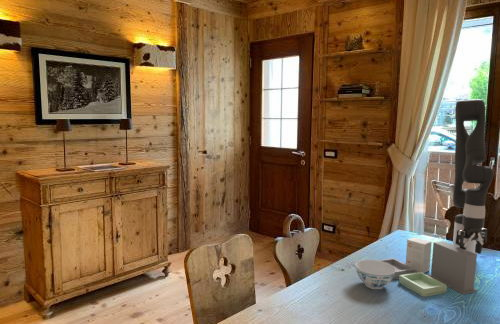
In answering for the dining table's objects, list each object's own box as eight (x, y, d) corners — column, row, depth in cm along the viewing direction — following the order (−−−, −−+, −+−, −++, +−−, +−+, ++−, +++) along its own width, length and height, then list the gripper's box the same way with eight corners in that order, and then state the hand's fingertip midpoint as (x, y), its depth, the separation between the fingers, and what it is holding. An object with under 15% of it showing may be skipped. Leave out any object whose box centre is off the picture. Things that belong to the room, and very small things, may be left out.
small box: (429, 270, 168) (432, 241, 166) (422, 274, 164) (425, 244, 162) (412, 264, 174) (414, 236, 172) (404, 267, 170) (406, 239, 168)
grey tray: (393, 264, 174) (393, 258, 173) (414, 275, 161) (415, 269, 161) (373, 267, 170) (373, 260, 169) (393, 279, 158) (394, 272, 157)
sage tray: (420, 278, 159) (420, 271, 158) (446, 292, 147) (446, 285, 146) (398, 282, 155) (399, 275, 155) (423, 296, 143) (424, 289, 142)
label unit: (440, 274, 164) (443, 240, 162) (476, 291, 148) (480, 254, 146) (427, 276, 161) (430, 242, 160) (462, 294, 146) (466, 256, 144)
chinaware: (396, 282, 155) (397, 263, 154) (392, 297, 142) (394, 277, 141) (357, 275, 161) (358, 257, 160) (351, 289, 148) (352, 270, 147)
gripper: (478, 211, 160) (474, 249, 162) (452, 214, 155) (449, 252, 157) (495, 216, 153) (491, 255, 155) (468, 218, 148) (464, 259, 150)
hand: (470, 254), depth 156 cm, fingers open, 8 cm apart
